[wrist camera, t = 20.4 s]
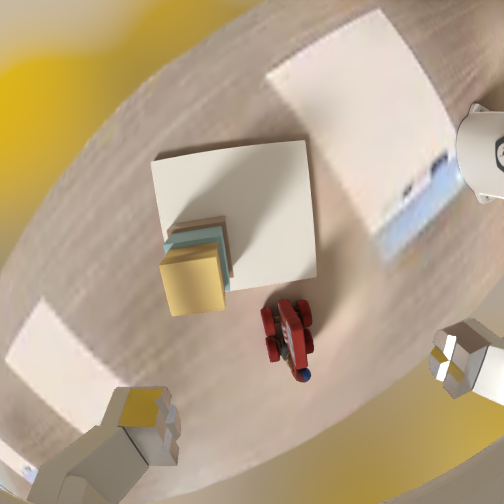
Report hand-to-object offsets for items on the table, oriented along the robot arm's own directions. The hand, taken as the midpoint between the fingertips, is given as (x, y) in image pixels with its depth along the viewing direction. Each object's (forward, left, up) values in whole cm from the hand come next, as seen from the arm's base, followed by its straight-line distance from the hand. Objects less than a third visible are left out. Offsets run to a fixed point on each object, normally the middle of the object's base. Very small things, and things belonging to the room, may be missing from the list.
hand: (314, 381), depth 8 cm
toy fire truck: (-4, +19, -33) cm, 39 cm away
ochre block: (+6, +4, -23) cm, 24 cm away
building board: (+1, +1, -33) cm, 33 cm away
